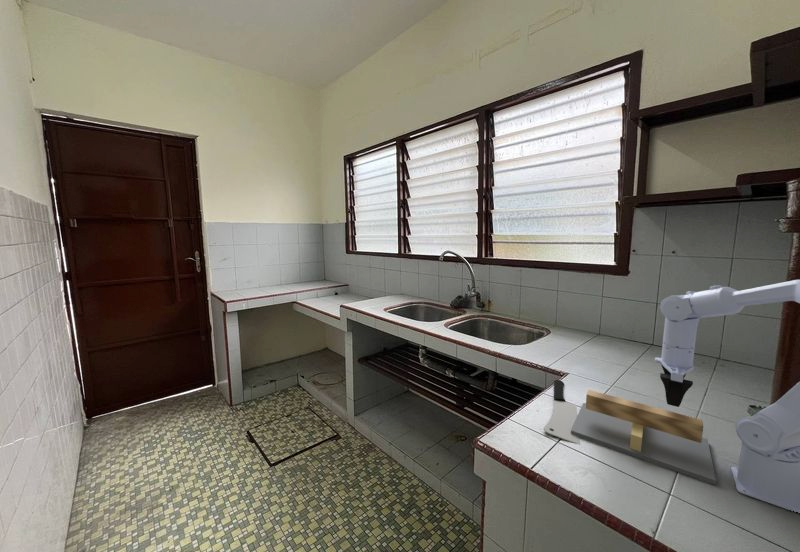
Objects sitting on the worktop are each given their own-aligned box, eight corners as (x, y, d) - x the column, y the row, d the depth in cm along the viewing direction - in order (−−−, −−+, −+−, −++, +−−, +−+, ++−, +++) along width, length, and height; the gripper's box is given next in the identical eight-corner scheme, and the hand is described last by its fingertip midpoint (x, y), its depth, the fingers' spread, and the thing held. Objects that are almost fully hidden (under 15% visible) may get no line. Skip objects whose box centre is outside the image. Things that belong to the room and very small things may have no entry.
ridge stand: (707, 442, 75) (709, 425, 74) (715, 485, 63) (718, 464, 62) (583, 405, 91) (583, 391, 91) (570, 433, 79) (571, 417, 78)
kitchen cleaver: (589, 445, 74) (544, 429, 79) (588, 451, 75) (542, 435, 79) (583, 386, 101) (550, 377, 106) (582, 391, 102) (549, 381, 106)
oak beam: (700, 436, 70) (702, 419, 70) (701, 443, 68) (703, 426, 68) (587, 403, 84) (588, 389, 84) (585, 408, 82) (586, 394, 82)
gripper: (657, 333, 82) (652, 382, 84) (656, 350, 71) (650, 405, 73) (693, 338, 78) (687, 390, 80) (698, 357, 67) (691, 416, 69)
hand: (672, 398), depth 76 cm, fingers open, 7 cm apart
